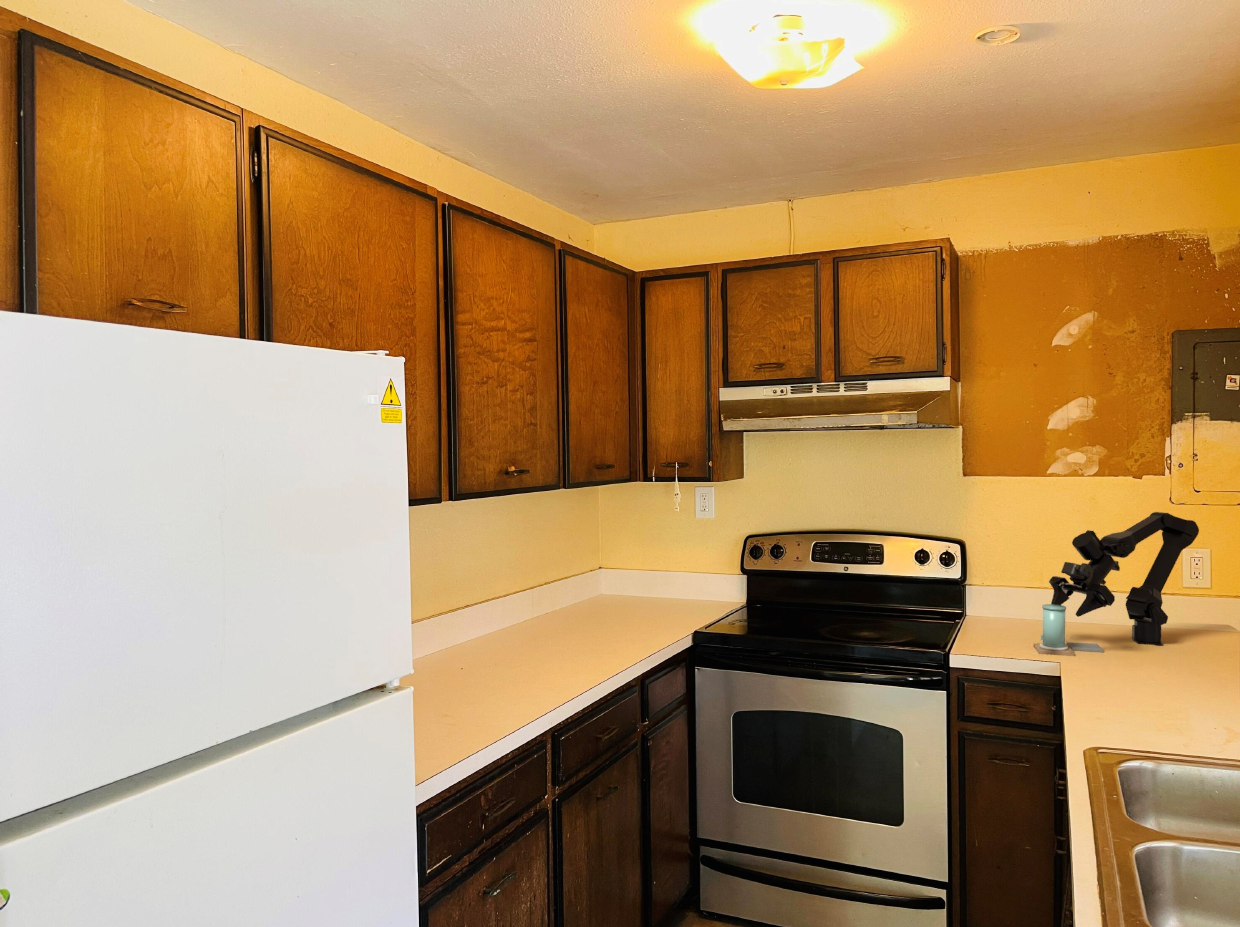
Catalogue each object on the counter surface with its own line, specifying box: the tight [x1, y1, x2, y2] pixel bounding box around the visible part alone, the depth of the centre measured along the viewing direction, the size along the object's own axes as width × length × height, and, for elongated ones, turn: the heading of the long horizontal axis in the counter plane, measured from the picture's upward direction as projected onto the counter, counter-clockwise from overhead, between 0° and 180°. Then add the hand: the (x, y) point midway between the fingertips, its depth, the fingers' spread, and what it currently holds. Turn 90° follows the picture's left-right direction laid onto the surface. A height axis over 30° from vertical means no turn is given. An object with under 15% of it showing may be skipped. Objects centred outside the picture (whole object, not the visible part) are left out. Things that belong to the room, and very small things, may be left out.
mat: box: [1065, 641, 1105, 653], centre depth 252 cm, size 8×8×1 cm
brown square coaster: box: [1033, 642, 1076, 657], centre depth 248 cm, size 9×9×2 cm
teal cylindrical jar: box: [1040, 603, 1067, 648], centre depth 248 cm, size 6×6×11 cm
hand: (1063, 612), depth 249 cm, fingers open, 9 cm apart
